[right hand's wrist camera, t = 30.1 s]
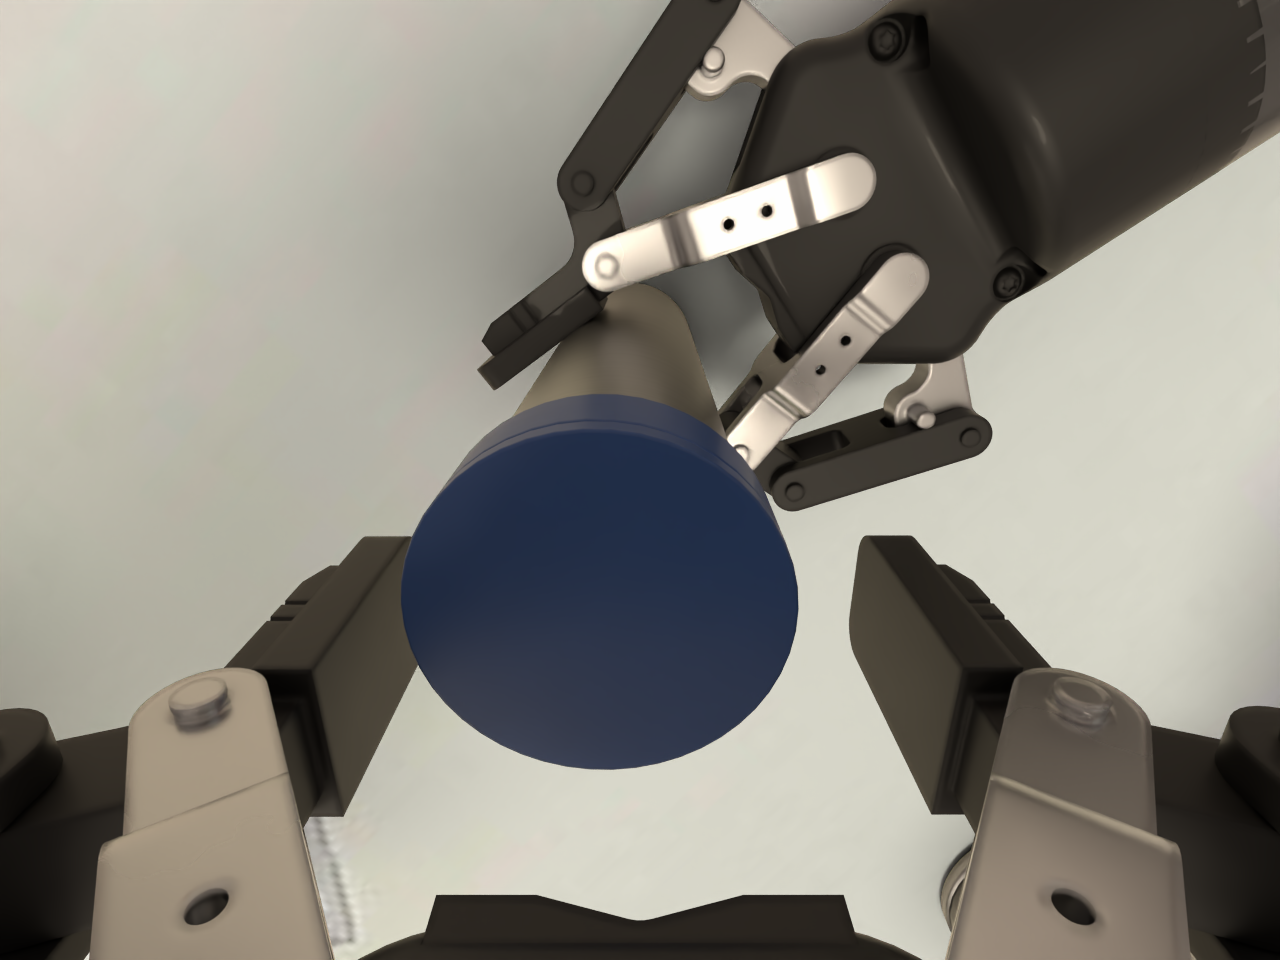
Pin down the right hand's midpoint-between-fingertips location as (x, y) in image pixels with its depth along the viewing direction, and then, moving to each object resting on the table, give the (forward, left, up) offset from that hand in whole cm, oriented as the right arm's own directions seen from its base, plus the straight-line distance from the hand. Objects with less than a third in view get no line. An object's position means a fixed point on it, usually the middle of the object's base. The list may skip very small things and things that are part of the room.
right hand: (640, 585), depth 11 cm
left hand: (-2, -2, -8) cm, 9 cm away
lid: (-1, +1, +2) cm, 3 cm away
